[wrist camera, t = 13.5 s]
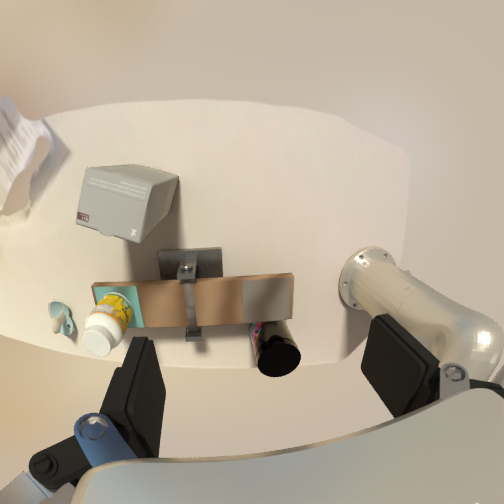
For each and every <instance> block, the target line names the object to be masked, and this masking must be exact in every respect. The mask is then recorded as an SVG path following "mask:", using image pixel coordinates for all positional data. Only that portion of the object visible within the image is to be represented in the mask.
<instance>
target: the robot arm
mask: <svg viewBox="0 0 504 504" xmlns="http://www.w3.org/2000/svg"><path fill="white" fill-rule="evenodd" d="M339 290H340V294H341V297H342V299H343V300H344V302H345V303H346V304H347V305H348V306H349V307H351V308H353V309H356V310H365V311H366V312H367V313H368V314H369V315H370V316H371V317H372V318H373V320H372V321H371V325H370V330H369V334H368V339H367V343H366V348H365V351H364V355H363V360H362V363H361V370H362V372H363V374H364V375H365V377H366V378H367V380H368V381H369V383H370V384H371V385H372V387H373V388H374V390H375V391H376V392H377V394H378V395H379V397H380V398H381V400H382V401H383V402H384V404H385V405H386V407H387V408H388V410H389V411H390V412H391V414H392V415H393V417H394V419H392V420H390V421H387V422H384V423H382V424H379V425H376V426H373V427H370V428H367V429H364V430H361V431H358V432H355V433H351V434H348V435H345V436H341V437H337V438H334V439H329V440H326V441H321V442H317V443H313V444H308V445H304V446H299V447H293V448H288V449H282V450H276V451H270V452H262V453H254V454H246V455H236V456H220V457H200V458H158V456H159V447H160V437H161V428H162V420H163V412H164V404H165V397H166V390H165V385H164V382H163V378H162V375H161V371H160V367H159V363H158V359H157V355H156V351H155V347H154V343H153V341H152V340H149V339H148V337H133V339H132V342H131V344H130V347H129V349H128V352H127V354H126V357H125V359H124V362H123V365H122V367H117V368H116V369H115V371H114V374H113V377H112V379H111V382H110V384H109V387H108V390H107V392H106V395H105V398H104V401H103V403H102V406H101V409H100V412H99V413H89V414H85V415H83V416H82V417H80V418H79V419H78V420H77V421H76V423H75V425H74V433H75V435H74V436H72V437H70V438H67V439H65V440H63V441H61V442H59V443H57V444H55V445H53V446H51V447H49V448H46V449H44V450H42V451H40V452H38V453H36V454H34V455H33V456H32V458H31V459H30V462H29V471H28V472H27V473H25V472H24V471H23V472H22V473H21V474H20V475H18V476H17V477H16V478H15V479H14V480H13V481H12V482H10V483H9V484H8V485H7V486H6V487H5V488H3V489H2V490H1V491H0V504H504V365H503V366H502V368H501V369H500V370H499V372H498V373H497V374H496V376H495V377H494V378H493V380H492V381H491V382H487V381H488V379H489V378H490V376H491V375H492V373H493V371H494V370H495V368H496V366H497V365H498V362H499V360H500V358H501V355H502V352H503V349H504V333H503V331H502V329H501V327H500V326H499V325H498V323H497V322H495V321H494V320H493V319H491V318H490V317H488V316H485V315H484V314H482V313H479V312H477V311H474V310H472V309H469V308H467V307H465V306H463V305H460V304H458V303H456V302H454V301H453V300H451V299H449V298H447V297H446V296H444V295H442V294H440V293H439V292H437V291H436V290H434V289H433V288H431V287H429V286H428V285H426V284H425V283H423V282H421V281H420V280H418V279H417V278H415V277H413V276H412V275H410V271H409V270H408V271H403V270H402V269H400V268H398V267H397V266H396V265H395V261H394V259H393V257H392V256H391V255H390V254H389V253H388V252H387V251H385V250H383V249H381V248H378V247H369V248H365V249H363V250H361V251H359V252H357V253H356V254H355V255H353V256H352V257H351V258H350V259H349V261H348V262H347V264H346V265H345V267H344V269H343V271H342V273H341V277H340V282H339Z"/></svg>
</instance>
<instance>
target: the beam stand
mask: <svg viewBox="0 0 504 504" xmlns="http://www.w3.org/2000/svg"><path fill="white" fill-rule="evenodd" d="M158 259H159V267H160V275H161V280H179V279H200V278H219V277H223V274H222V254H221V247H214V248H195V249H176V250H159V251H158ZM185 339H186V342H188V341H202V326H200V329H199V330H198V331H194V332H191V331H188V330H187V327H186V335H185Z"/></svg>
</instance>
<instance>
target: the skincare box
mask: <svg viewBox="0 0 504 504" xmlns="http://www.w3.org/2000/svg"><path fill="white" fill-rule="evenodd" d="M178 179H179V176H177V175H174V174H171V173H168V172H164V171H161V170H157V169H153V168H149V167H144V166H140V165H134V164H129V165H115V166H103V167H90V168H88V167H87V168H86V171H85V176H84V180H83V185H82V189H81V194H80V200H79V205H78V211H77V217H76V224H78V225H81V226H84V227H87V228H91V229H94V230H97V231H99V232H100V233H101V234H103V235H105V236H115V237H118V238H121V239H125V240H128V241H131V242H134V243H141V242H142V241H143V239H144V238H145V237H146V236H147V235H148V234H149V233H150V232H151V231H152V230H153V229H154V228H155V227H156V226H157V225H158V224H159V223H160V222H161V221H162V220H163V219H164V218H165V217H166V216H167V215H168V214H169V211H170V207H171V203H172V200H173V196H174V192H175V189H176V186H177V182H178Z"/></svg>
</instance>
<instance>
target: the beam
mask: <svg viewBox="0 0 504 504" xmlns="http://www.w3.org/2000/svg"><path fill="white" fill-rule="evenodd" d="M91 288H92V292H93V296H94V300H95V304H96V305H97V304H98V302H99V301H100V300H101V298H102V297H103V296H104V295H105V294H107V293H110V292H116V293H120V294H122V295H123V296H125V297H126V298H127V299H128V301H129V302H130V303H131V305H132V309H133V315H132V318H131V320H130V322H129V324H128V326H127V328H144V327H186V326H187V330H188V331H191V332H194V331H198V330H199V329H200V326H209V325H226V324H240V323H255V322H266V321H277V320H286V319H292V309H293V290H294V276H293V274H292V273H282V274H268V275H252V276H236V277H219V278H200V279H179V280H156V281H129V282H95V283H94V284H93V285H92V286H91Z"/></svg>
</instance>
